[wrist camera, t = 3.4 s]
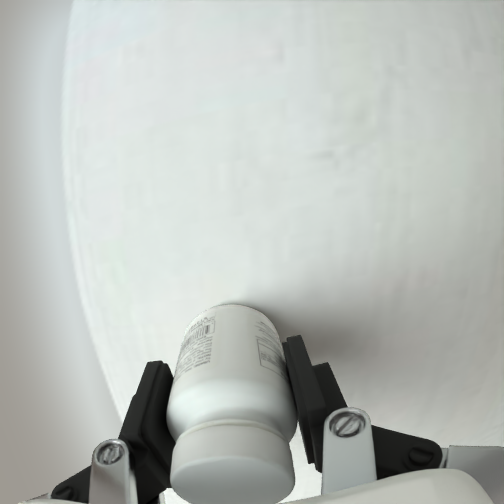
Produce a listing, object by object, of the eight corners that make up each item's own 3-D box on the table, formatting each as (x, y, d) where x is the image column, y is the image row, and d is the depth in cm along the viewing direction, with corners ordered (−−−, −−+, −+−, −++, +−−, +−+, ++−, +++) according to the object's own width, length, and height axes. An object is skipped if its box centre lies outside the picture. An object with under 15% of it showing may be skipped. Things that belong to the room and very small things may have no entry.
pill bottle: (184, 377, 15) (162, 513, 7) (183, 297, 13) (140, 437, 6) (273, 381, 15) (297, 516, 7) (285, 304, 14) (332, 443, 6)
